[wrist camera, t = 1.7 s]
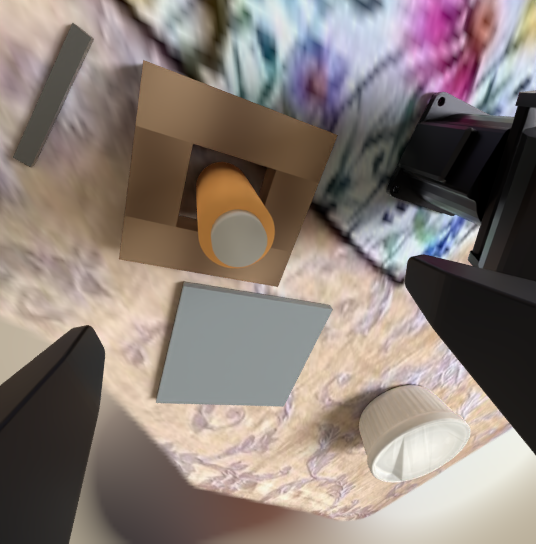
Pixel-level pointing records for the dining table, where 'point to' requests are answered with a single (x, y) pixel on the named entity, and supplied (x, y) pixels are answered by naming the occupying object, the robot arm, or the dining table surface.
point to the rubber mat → (238, 347)
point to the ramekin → (410, 433)
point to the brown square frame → (226, 139)
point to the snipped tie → (53, 95)
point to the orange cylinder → (231, 217)
